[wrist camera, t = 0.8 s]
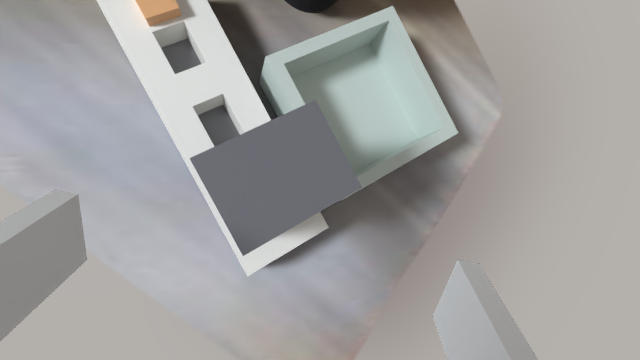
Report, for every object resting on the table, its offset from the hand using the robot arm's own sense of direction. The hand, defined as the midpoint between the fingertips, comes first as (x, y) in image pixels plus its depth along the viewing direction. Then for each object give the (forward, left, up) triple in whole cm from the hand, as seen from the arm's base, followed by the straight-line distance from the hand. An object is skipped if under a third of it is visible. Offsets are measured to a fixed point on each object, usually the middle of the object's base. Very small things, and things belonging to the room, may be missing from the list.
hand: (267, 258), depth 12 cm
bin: (-14, +4, -17) cm, 22 cm away
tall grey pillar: (-3, -1, -16) cm, 16 cm away
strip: (-7, -6, -17) cm, 19 cm away
